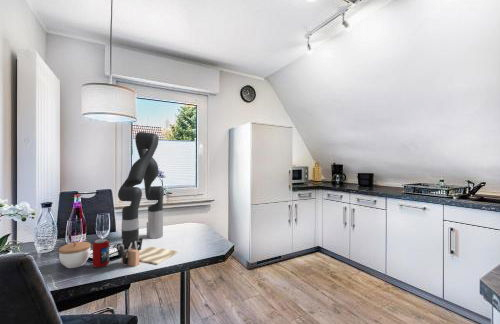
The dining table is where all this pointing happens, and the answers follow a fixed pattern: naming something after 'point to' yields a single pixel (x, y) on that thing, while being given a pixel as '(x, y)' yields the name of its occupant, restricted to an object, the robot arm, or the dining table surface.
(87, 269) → the dining table surface
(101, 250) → the beverage can
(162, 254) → the striped cloth
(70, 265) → the lidded bowl
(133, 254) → the tile
